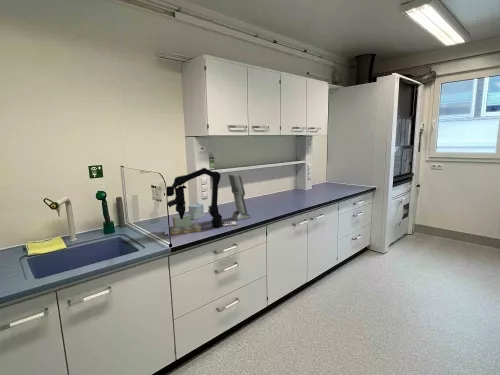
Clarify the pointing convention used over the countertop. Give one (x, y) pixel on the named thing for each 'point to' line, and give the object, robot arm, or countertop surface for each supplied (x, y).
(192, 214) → the light bulb box
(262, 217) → the countertop surface
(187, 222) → the door panel
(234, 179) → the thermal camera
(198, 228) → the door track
